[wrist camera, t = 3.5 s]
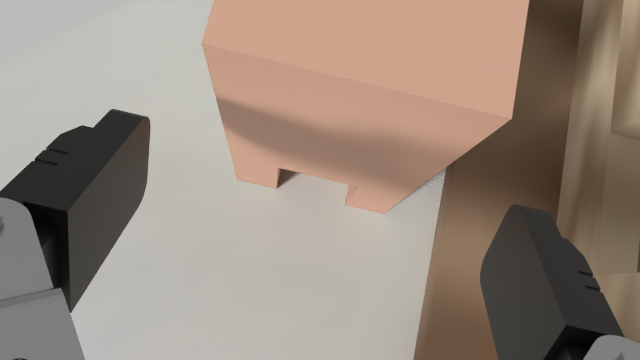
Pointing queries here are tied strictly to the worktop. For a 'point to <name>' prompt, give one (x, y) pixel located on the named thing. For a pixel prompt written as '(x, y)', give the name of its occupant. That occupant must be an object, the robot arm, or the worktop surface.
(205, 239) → the worktop surface
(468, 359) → the ridged rail
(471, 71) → the slotted upright
